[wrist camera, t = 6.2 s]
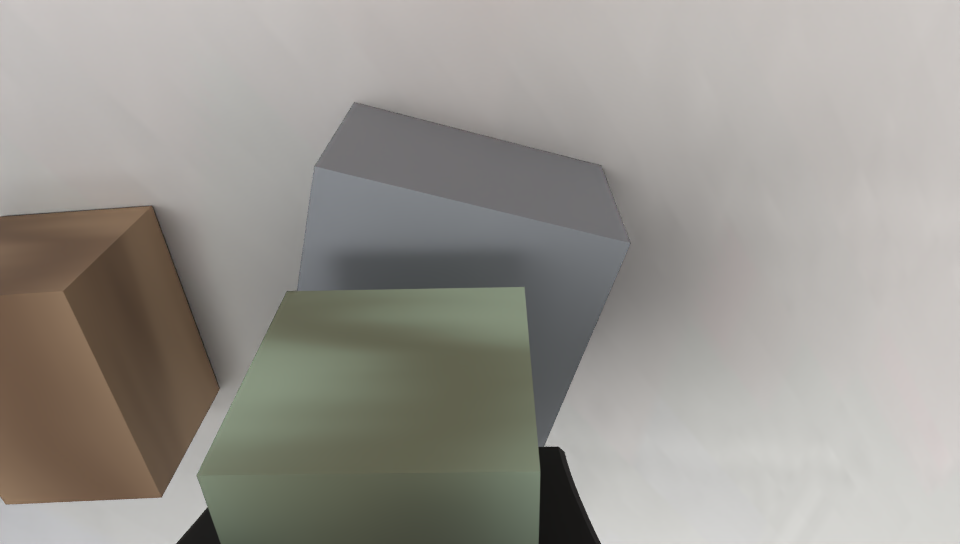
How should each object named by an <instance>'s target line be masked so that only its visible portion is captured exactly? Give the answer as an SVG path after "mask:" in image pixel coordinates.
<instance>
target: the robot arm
mask: <svg viewBox="0 0 960 544" xmlns="http://www.w3.org/2000/svg"><path fill="white" fill-rule="evenodd" d="M538 450H539V461H540V507H539V544H601V543H600V541H599V539H598V537H597V535H596V533H595V531H594V528H593V526H592V524H591V522H590V520H589V518H588V515H587V513H586V511H585V508H584V506H583V504H582V501H581V499H580V497H579V494H578V491H577V489H576V486H575V484H574V481H573V478H572V476H571V473H570V470H569V466H568V463H567V460H566V456H565V452H564V451H563V450H562V449H560V448H559V447H538ZM176 544H221V543H220V540H219V537H218V534H217V532H216V529H215V526H214V523H213V520H212V517H211V515H210V512H209V509H208V507H207V509H206V510H205V511H204V512H203V513H202V515H201V516H200V517H199V518H198V519H197V520H196V522H195V523H194V524H193V525H192V526H191V527H190V529H189V530H188V531H187V532H186V533H185V534H184V535H183V537H182V538H181V539H180V540H179V541H178V542H177V543H176Z"/></svg>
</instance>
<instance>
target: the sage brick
mask: <svg viewBox="0 0 960 544" xmlns="http://www.w3.org/2000/svg"><path fill="white" fill-rule="evenodd" d="M197 478H198V481H199V483H200V486H201V489H202V492H203V495H204V498H205V500H206V503H207V506H208V509H209V512H210V515H211V517H212V520H213V523H214V526H215V529H216V532H217V534H218V537H219V540H220V543H221V544H539V507H540V461H539V450H538V438H537V427H536V415H535V403H534V392H533V380H532V369H531V357H530V345H529V334H528V322H527V311H526V299H525V287H495V288H440V289H385V290H331V291H287V292H286V294H285V296H284V298H283V300H282V302H281V304H280V306H279V308H278V310H277V312H276V314H275V316H274V319H273V321H272V323H271V325H270V327H269V329H268V331H267V333H266V335H265V337H264V339H263V341H262V343H261V345H260V347H259V349H258V351H257V353H256V355H255V357H254V359H253V361H252V363H251V365H250V368H249V370H248V372H247V374H246V376H245V378H244V380H243V382H242V384H241V386H240V388H239V390H238V392H237V394H236V396H235V398H234V400H233V402H232V404H231V406H230V408H229V410H228V412H227V415H226V417H225V419H224V421H223V423H222V425H221V427H220V429H219V431H218V433H217V435H216V437H215V439H214V441H213V443H212V445H211V447H210V449H209V451H208V453H207V455H206V457H205V459H204V461H203V464H202V466H201V468H200V470H199V472H198V474H197Z"/></svg>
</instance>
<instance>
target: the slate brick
mask: <svg viewBox="0 0 960 544" xmlns="http://www.w3.org/2000/svg"><path fill="white" fill-rule="evenodd" d="M630 244H631V243H630V240H629V238H628V235H627V232H626V230H625V227H624V224H623V222H622V219H621V216H620V214H619V211H618V209H617V206H616V203H615V201H614V198H613V195H612V193H611V190H610V188H609V185H608V182H607V180H606V177H605V174H604V172H603V169H602V166H601V165H597V164H593V163H589V162H585V161H581V160H577V159H573V158H569V157H566V156H562V155H558V154H554V153H550V152H546V151H542V150H538V149H534V148H530V147H527V146H523V145H519V144H515V143H511V142H507V141H503V140H499V139H495V138H491V137H488V136H484V135H480V134H476V133H472V132H468V131H464V130H460V129H456V128H452V127H449V126H445V125H441V124H437V123H433V122H429V121H425V120H421V119H417V118H414V117H410V116H406V115H402V114H398V113H394V112H390V111H386V110H382V109H378V108H375V107H371V106H367V105H363V104H359V103H355V102H354V104H353V105H352V107H351V108H350V110H349V112H348V113H347V115H346V116H345V118H344V120H343V121H342V123H341V124H340V126H339V128H338V129H337V131H336V133H335V134H334V136H333V137H332V139H331V141H330V142H329V144H328V145H327V147H326V149H325V150H324V152H323V153H322V155H321V157H320V158H319V160H318V161H317V163H316V165H315V166H314V173H313V180H312V187H311V195H310V202H309V209H308V216H307V223H306V231H305V238H304V245H303V252H302V259H301V267H300V274H299V281H298V288H297V291H331V290H385V289H440V288H495V287H525V299H526V311H527V322H528V334H529V345H530V357H531V369H532V380H533V392H534V403H535V415H536V427H537V438H538V447H544V445H545V443H546V440H547V438H548V436H549V433H550V431H551V429H552V426H553V424H554V422H555V419H556V417H557V415H558V412H559V410H560V407H561V405H562V403H563V400H564V398H565V396H566V393H567V391H568V389H569V386H570V384H571V382H572V379H573V377H574V375H575V372H576V370H577V368H578V365H579V363H580V361H581V358H582V356H583V354H584V351H585V349H586V347H587V344H588V342H589V340H590V337H591V335H592V333H593V330H594V328H595V326H596V323H597V321H598V319H599V316H600V314H601V311H602V309H603V307H604V304H605V302H606V300H607V297H608V295H609V293H610V290H611V288H612V286H613V283H614V281H615V279H616V276H617V274H618V272H619V269H620V267H621V265H622V262H623V260H624V258H625V255H626V253H627V251H628V248H629V246H630Z"/></svg>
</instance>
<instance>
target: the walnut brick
mask: <svg viewBox="0 0 960 544" xmlns="http://www.w3.org/2000/svg"><path fill="white" fill-rule="evenodd" d="M218 391H219V387H218V384H217V381H216V378H215V376H214V373H213V370H212V368H211V365H210V362H209V359H208V357H207V354H206V351H205V349H204V346H203V343H202V340H201V338H200V335H199V332H198V330H197V327H196V324H195V321H194V319H193V316H192V313H191V311H190V308H189V305H188V302H187V300H186V297H185V294H184V292H183V289H182V286H181V284H180V281H179V278H178V275H177V273H176V270H175V267H174V265H173V262H172V259H171V256H170V254H169V251H168V248H167V246H166V243H165V240H164V237H163V235H162V232H161V229H160V227H159V224H158V221H157V218H156V216H155V213H154V210H153V208H152V206H145V207H131V208H117V209H103V210H89V211H75V212H61V213H47V214H33V215H19V216H5V217H0V497H1V498H2V500H3V501H4V503H5V504H28V503H50V502H72V501H94V500H116V499H138V498H160V497H162V496H163V494H164V492H165V490H166V488H167V486H168V485H169V483H170V481H171V479H172V477H173V475H174V473H175V472H176V470H177V468H178V466H179V464H180V462H181V460H182V458H183V457H184V455H185V453H186V451H187V449H188V447H189V445H190V444H191V442H192V440H193V438H194V436H195V434H196V432H197V430H198V429H199V427H200V425H201V423H202V421H203V419H204V417H205V416H206V414H207V412H208V410H209V408H210V406H211V404H212V403H213V401H214V399H215V397H216V395H217V393H218Z"/></svg>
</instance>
